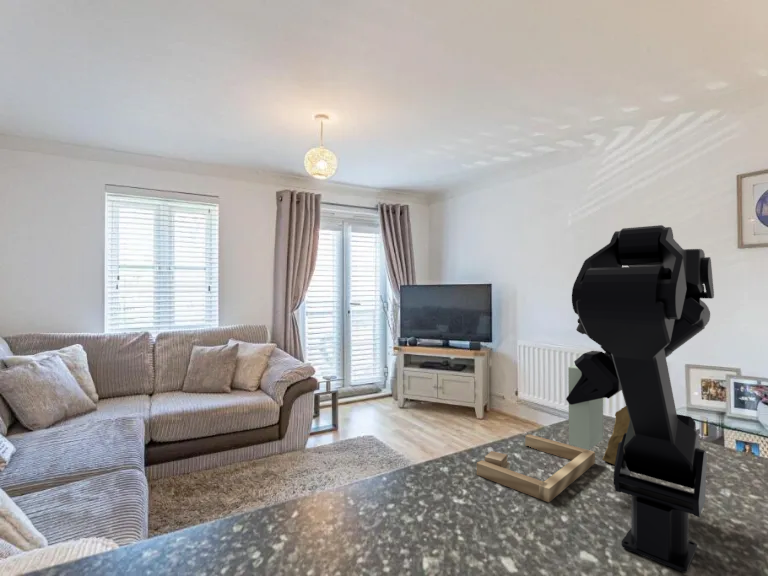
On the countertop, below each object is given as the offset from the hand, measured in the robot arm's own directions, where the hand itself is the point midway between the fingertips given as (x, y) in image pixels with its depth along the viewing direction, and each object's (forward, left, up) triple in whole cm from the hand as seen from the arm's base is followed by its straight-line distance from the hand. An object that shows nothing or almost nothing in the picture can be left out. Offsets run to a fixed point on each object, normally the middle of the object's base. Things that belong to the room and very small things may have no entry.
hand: (576, 397), depth 66 cm
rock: (+16, -1, -14) cm, 21 cm away
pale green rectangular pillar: (0, -2, -7) cm, 7 cm away
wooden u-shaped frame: (0, +7, -13) cm, 15 cm away
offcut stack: (-5, +11, -13) cm, 18 cm away
